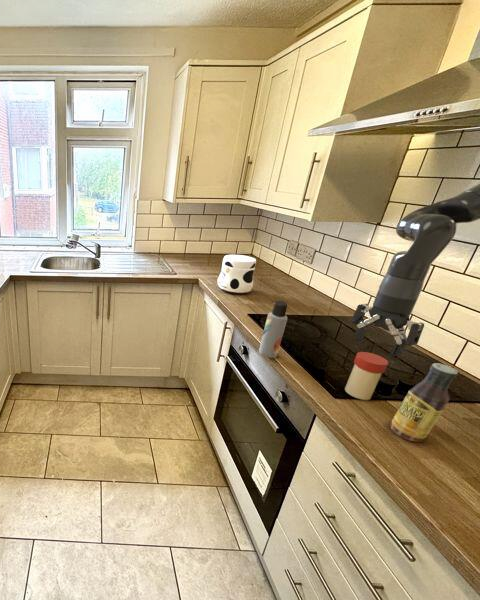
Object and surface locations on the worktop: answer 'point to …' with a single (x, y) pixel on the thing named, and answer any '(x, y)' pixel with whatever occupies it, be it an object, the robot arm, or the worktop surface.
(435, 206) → the robot arm
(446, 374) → the sauce bottle
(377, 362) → the jar lid
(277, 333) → the lotion bottle
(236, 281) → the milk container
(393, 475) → the worktop surface
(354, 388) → the jar
